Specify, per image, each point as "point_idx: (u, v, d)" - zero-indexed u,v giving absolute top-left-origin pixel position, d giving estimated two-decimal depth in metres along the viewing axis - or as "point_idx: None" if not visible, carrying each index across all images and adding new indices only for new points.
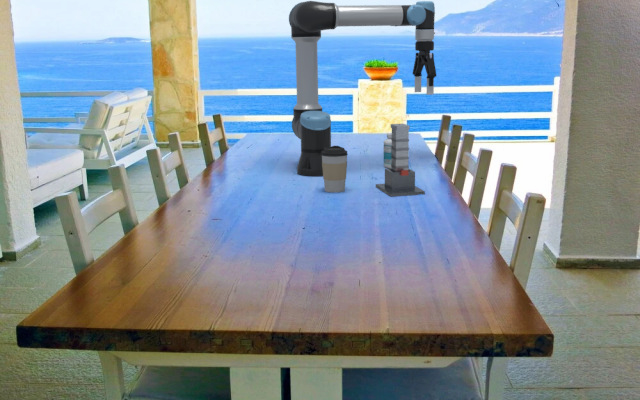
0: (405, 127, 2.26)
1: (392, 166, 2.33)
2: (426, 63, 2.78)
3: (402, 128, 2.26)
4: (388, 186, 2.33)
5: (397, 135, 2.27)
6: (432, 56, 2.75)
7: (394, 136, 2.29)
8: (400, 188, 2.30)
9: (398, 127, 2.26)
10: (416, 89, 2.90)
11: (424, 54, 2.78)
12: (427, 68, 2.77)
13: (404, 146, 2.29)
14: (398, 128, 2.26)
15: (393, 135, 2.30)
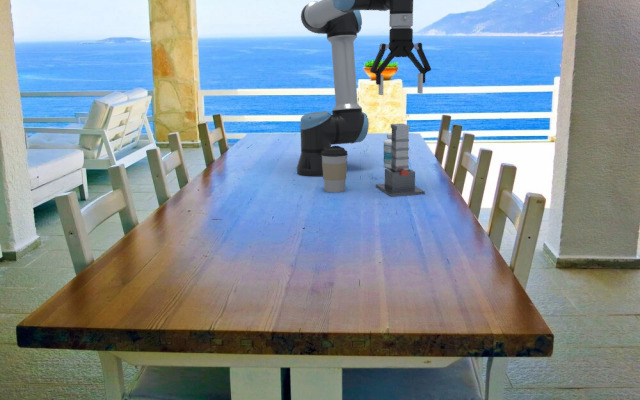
0: (405, 127, 2.26)
1: (392, 166, 2.33)
2: (388, 56, 2.24)
3: (402, 128, 2.26)
4: (388, 186, 2.33)
5: (397, 135, 2.27)
6: (381, 47, 2.21)
7: (394, 136, 2.29)
8: (400, 188, 2.30)
9: (398, 127, 2.26)
10: (418, 89, 2.29)
11: None
12: None
13: (404, 146, 2.29)
14: (398, 128, 2.26)
15: (393, 135, 2.30)
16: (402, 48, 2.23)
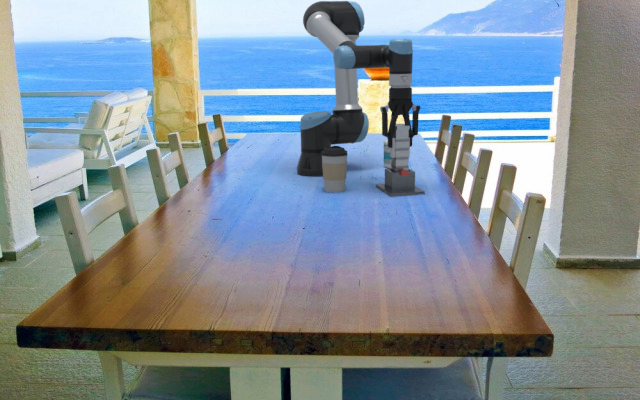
0: (405, 127, 2.26)
1: (392, 166, 2.33)
2: (391, 117, 2.29)
3: (402, 128, 2.26)
4: (388, 186, 2.33)
5: (397, 135, 2.27)
6: (382, 111, 2.26)
7: (394, 136, 2.29)
8: (400, 188, 2.30)
9: (398, 127, 2.26)
10: None
11: None
12: None
13: (404, 146, 2.29)
14: (398, 128, 2.26)
15: (393, 135, 2.30)
16: (402, 105, 2.27)
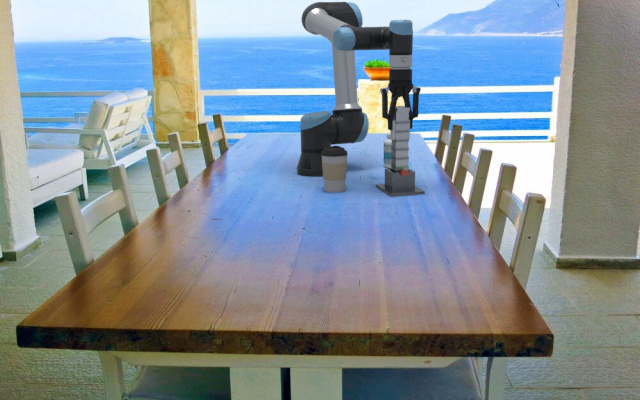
0: (405, 109, 2.25)
1: (392, 149, 2.32)
2: (392, 99, 2.27)
3: (402, 110, 2.25)
4: (388, 186, 2.33)
5: (397, 117, 2.26)
6: (382, 93, 2.25)
7: (394, 118, 2.28)
8: (400, 188, 2.30)
9: (398, 109, 2.25)
10: None
11: None
12: (390, 106, 2.28)
13: (404, 128, 2.28)
14: (398, 110, 2.25)
15: (393, 117, 2.28)
16: (402, 87, 2.25)
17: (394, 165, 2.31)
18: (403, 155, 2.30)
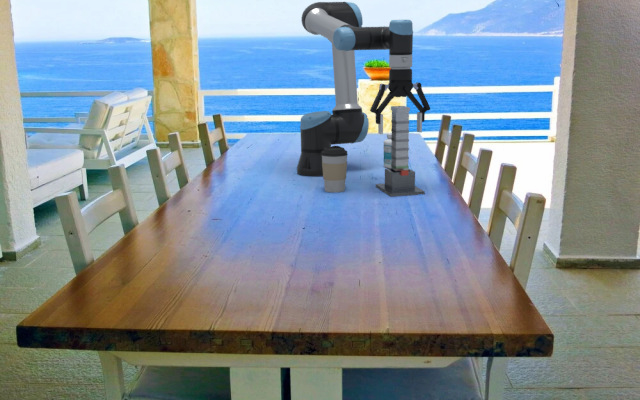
0: (405, 109, 2.25)
1: (392, 149, 2.32)
2: (387, 96, 2.27)
3: (402, 110, 2.25)
4: (388, 186, 2.33)
5: (397, 117, 2.26)
6: (381, 88, 2.24)
7: (394, 118, 2.28)
8: (400, 188, 2.30)
9: (398, 109, 2.25)
10: (417, 128, 2.32)
11: None
12: (382, 102, 2.27)
13: (404, 128, 2.28)
14: (398, 110, 2.25)
15: (393, 117, 2.28)
16: (401, 88, 2.25)
17: (394, 165, 2.31)
18: (403, 155, 2.30)
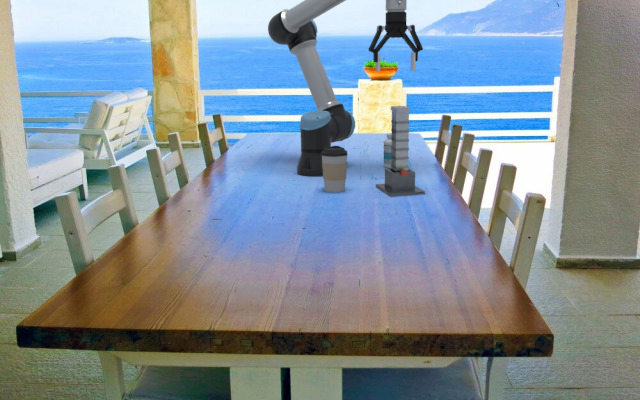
0: (405, 109, 2.25)
1: (392, 149, 2.32)
2: (384, 37, 2.51)
3: (402, 110, 2.25)
4: (388, 186, 2.33)
5: (397, 117, 2.26)
6: (378, 29, 2.48)
7: (394, 118, 2.28)
8: (400, 188, 2.30)
9: (398, 109, 2.25)
10: (411, 67, 2.56)
11: None
12: None
13: (404, 128, 2.28)
14: (398, 110, 2.25)
15: (393, 117, 2.28)
16: (397, 29, 2.49)
17: (394, 165, 2.31)
18: (403, 155, 2.30)
